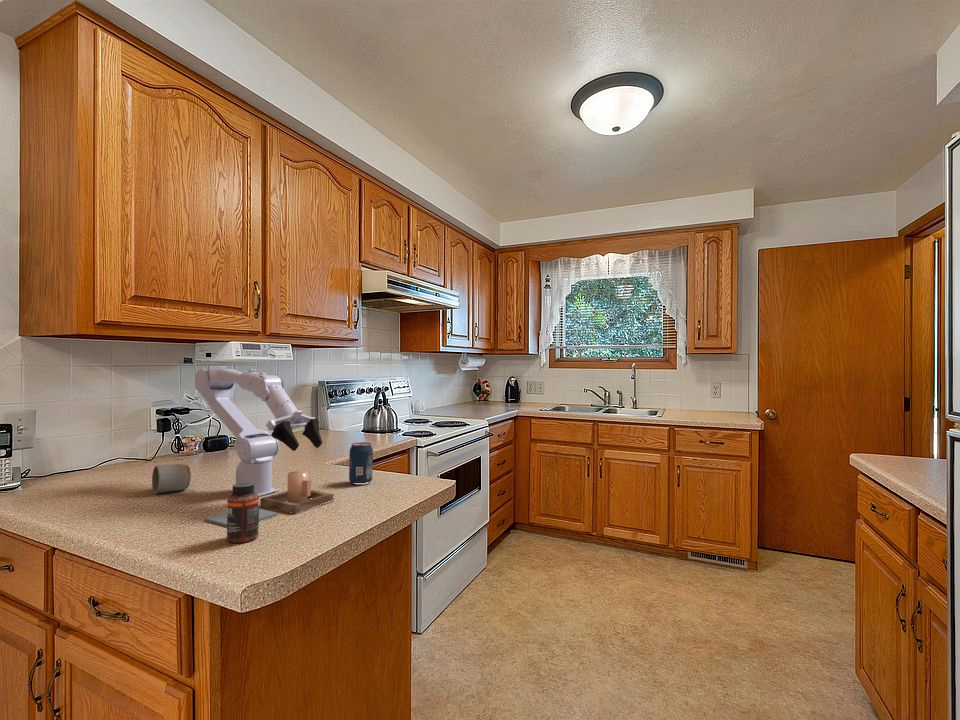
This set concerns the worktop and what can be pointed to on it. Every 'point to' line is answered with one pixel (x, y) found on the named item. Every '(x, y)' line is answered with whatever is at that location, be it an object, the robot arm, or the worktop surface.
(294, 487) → the peach capsule with nub
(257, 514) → the supplement bottle
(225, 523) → the mat
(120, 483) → the worktop surface
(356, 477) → the soda can
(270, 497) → the frame
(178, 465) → the grey cylinder
